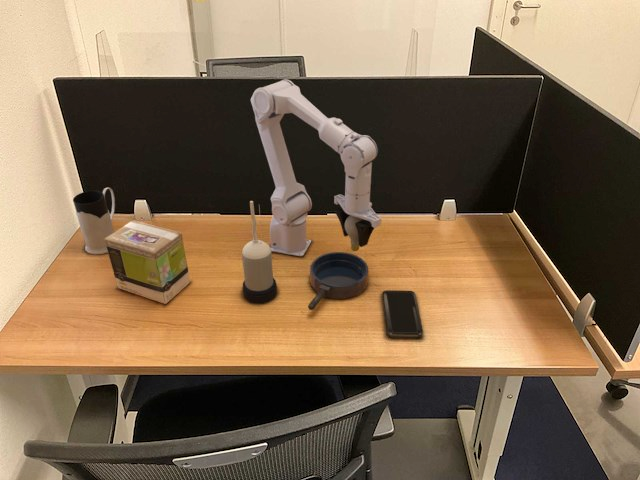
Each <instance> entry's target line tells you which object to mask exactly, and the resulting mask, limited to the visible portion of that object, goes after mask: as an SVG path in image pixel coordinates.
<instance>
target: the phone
mask: <svg viewBox="0 0 640 480" xmlns="http://www.w3.org/2000/svg"><path fill="white" fill-rule="evenodd" d="M381 299H382V307H383V308H382V309H383V316H384V325H385V333H386V336H387V337H388V338H390V339H414V340H415V339H421V338H422V337H423V335H424V330H423V329H424V328H423V325H422V324H423V323H422V319H421V316H420V310H419V304H418V300H417V294H416V292H415V291H413V290H400V289H399V290H397V289H396V290H395V289H394V290H391V289H390V290H389V289H387V290H383V291H382V293H381Z"/></svg>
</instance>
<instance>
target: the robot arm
mask: <svg viewBox="0 0 640 480" xmlns="http://www.w3.org/2000/svg"><path fill="white" fill-rule="evenodd" d="M250 104H251V106H252V110H253V113H254V119H255V124H256V126H257V129H258V133H259V136H260V140H261V143H262V147H263V150H264V153H265V157H266V159H267V162H268V163H267V164H268V166H269V169H270V173H271V176H272V179H273V183H274V187H275V189H274V191H273V193H272V194H271V196H270V202H271V213H272V218H271V220H270V223H269V242H270V243H269V244H270V248H271V253H272V252H274V253H277V254H283V255H290V256H296V257H301V258H302V257H304V256H305V254H306V252H307V250H308V249H309V247H310V245H311V244H312V240H311V239H308V238H307V217H308V212H310V211H311V209H312V207H313V202H312V199H311V197H310V195H309V194H308V192H307V189H306V187H305V185H304V184H302V183H299V182H297V180H296V176H295V172H294V169H293V164H292V162H291V158H290V155H289V150H288V148H287V145H286V142H285V141H286V140H285V137H284V134H283V131H282V130H283V129H282V127H281V123H280V122H281V121H282V119H283V117H284V115H285V114H292V115H295V116H296V117H297V118H299V119H301V120H302V121H303V122H305V123H306V124H307V125H309V126H311V127H312V128H314V130H317V131H318V137H319V139H320V140H321V141H322V142H324V143H325V144H326V145H327V146H329V147H330V148H331V149H332V150H333V151H334V152H336V153H338V154H339V156H340V160H341V162H342V164H343V166H344V173H345V185H344V195H343V194H341V193H340V194H337V195H334V196H333V197H334V199H333V201H334V202H333V203H334V205H336V206H337V205H339V207H338V208H336V209H334V214H335V215H336V217H337V218H338V221H339V223H340V226H341V230H342V233H343V236H344V237H345V238H346V237H349V235H348V234H347V232H346V230H345V221H346V219H347V218H348V217H349V216H350V215H351V216H355V217H358V218H361V219H362V221H359V222H357V223H355V225H356V228H357V231H358V241H359V248H362V247H365V246H367V245H368V244H369V241H370V238H371V235H372V233H373V231H374V230H375V228H378V227H381V226H382V217H380V216H379V215H378V214H377V213H376V212H375V210H374V209H373V208H372V206H373V203H372V202H371V184H372V169H373V168H372V167H373V162H372V161H373V160H375V159H376V157H377V156H378V153H379V149H378V146H377V143H376V142H375V140H374V139H373V138H372V137H371V136H370V135H367V134H364V135H363V134H360V133H357V132H355V131H354V130H352V129H351V128H350V127H349V126H348V125H346V124H344V122H343V120H342V119H341V118H337V117H327V116H326V115H325V114H323V112H322V111H321V110H320V109H318V108H317V107H316V106H315V105H313V103H311V101H310V100H308V99H307V98H306V97H305V96H304V95H303V94H302V93H301V89H300V87H299V86H298V85H296V84H294V82H293V81H291V80H290V79H287V78H285V79H281V80H280V81H277V82H275V83H271V84H269V85H265V86H263V87H258V88H256V89H255V90H254V92H253V93H252V95H251V98H250Z"/></svg>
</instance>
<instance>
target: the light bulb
mask: <svg viewBox="0 0 640 480" xmlns="http://www.w3.org/2000/svg"><path fill="white" fill-rule="evenodd" d="M359 221H362V219H361V218H358V217H355V216H351V215H350V216H349V217H348V218H347V219H346V221H345V230H346V232H347V234H348V237H349V239H350V250H351V251H352V252H358V251H359V250H360V246H359V241H358V231H357V228H356V225H355V223H357V222H359Z"/></svg>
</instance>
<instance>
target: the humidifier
mask: <svg viewBox="0 0 640 480" xmlns="http://www.w3.org/2000/svg"><path fill="white" fill-rule="evenodd" d="M249 207H250V209H249V210H250V218H251V222H252V223H251V234H252V235H251V236H252V240H250V241H248V242H247V243H246V244H245V245H244V247H243V248H242V250H241V257H242V267H243V276H244V278H243V279H244V280H243V282H242V296H243V298H244V300H246V301H247V302H249V303H251V304H254V305H255V304H256V305H260V304H261V305H262V304H266V303H269V302H272V301H273V300H274V299H275V298H276V297H277V295H278V287H277V286H278V285H277V282H276V279H275V278H274V271H273V256H272V251H271V246H270V245H269V244H268V243H267V242H265V241H263V240H262V239H259V238H258V235H257V219H256V215H255V206H254V201H253V200H250V201H249ZM258 211H259V213H258V214H261V208H260V205H258ZM259 224H260V226H261V228H260V235H261V237H260V238H263V224H262V222H261V221H259Z"/></svg>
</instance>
